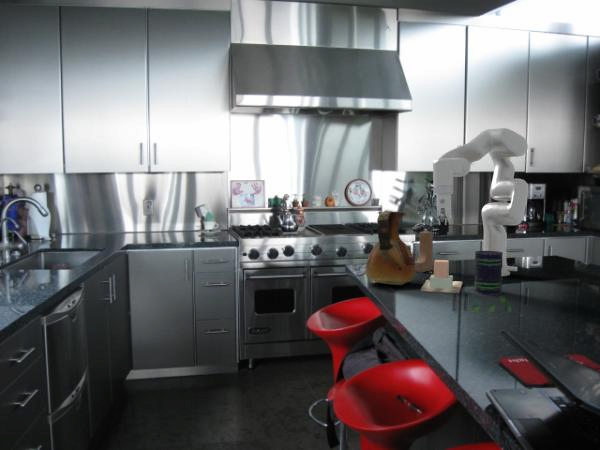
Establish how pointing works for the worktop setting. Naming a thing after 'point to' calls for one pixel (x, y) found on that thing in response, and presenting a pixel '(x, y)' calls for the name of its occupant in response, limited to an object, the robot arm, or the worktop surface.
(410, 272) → the ceramic pitcher
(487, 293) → the storage jar
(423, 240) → the wooden block
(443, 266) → the terracotta brick
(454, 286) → the build board
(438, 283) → the sage base brick
